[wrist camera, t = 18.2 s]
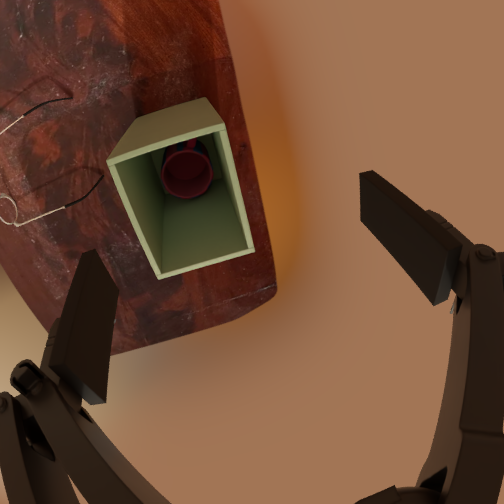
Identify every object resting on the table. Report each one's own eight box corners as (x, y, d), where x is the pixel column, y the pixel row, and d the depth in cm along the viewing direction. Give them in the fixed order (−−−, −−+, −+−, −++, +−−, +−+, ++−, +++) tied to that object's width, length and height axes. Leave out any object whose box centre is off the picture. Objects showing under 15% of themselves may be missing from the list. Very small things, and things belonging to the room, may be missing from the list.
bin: (135, 118, 39) (105, 160, 23) (205, 96, 40) (224, 122, 24) (162, 197, 47) (158, 279, 31) (226, 178, 48) (255, 251, 32)
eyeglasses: (-19, 144, 33) (-35, 154, 29) (70, 88, 34) (58, 92, 30) (20, 224, 43) (9, 240, 39) (108, 182, 44) (102, 196, 40)
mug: (158, 175, 44) (155, 193, 39) (175, 110, 40) (174, 118, 34) (201, 184, 47) (205, 203, 41) (221, 121, 42) (228, 131, 36)
